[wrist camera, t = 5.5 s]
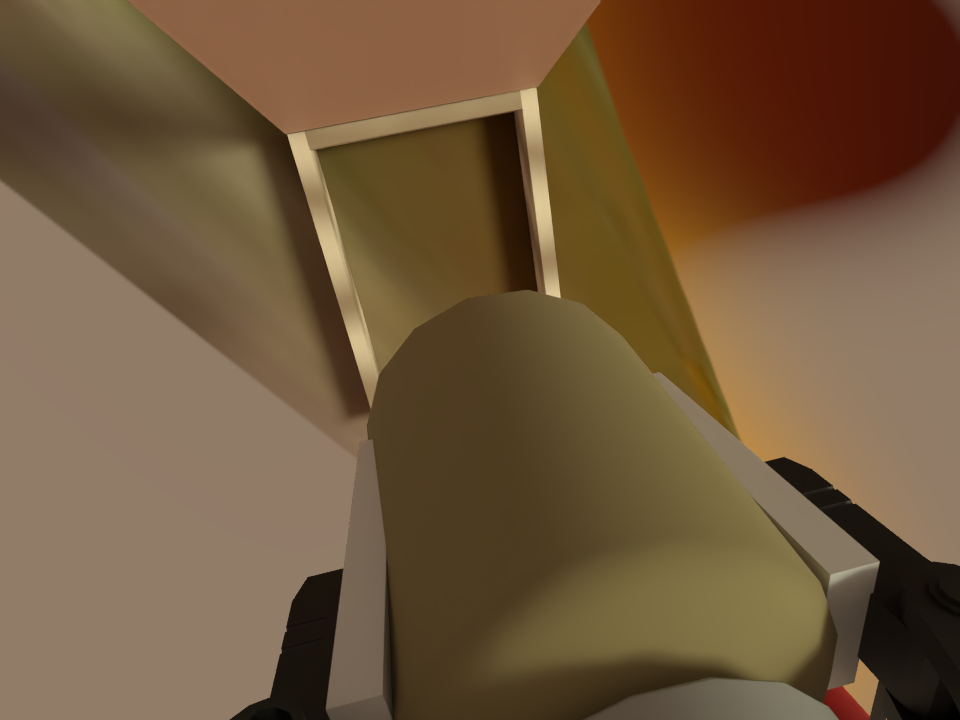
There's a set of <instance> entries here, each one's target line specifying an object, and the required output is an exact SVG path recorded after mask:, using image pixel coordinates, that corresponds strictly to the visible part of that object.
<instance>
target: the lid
mask: <svg viewBox="0 0 960 720" xmlns="http://www.w3.org/2000/svg"><path fill="white" fill-rule="evenodd" d="M127 1H128V2H130V3H131V4H132V5H133V6H134V7H135V8H137V9H138V10H139V11H140V12H141V13H143V14H144V15H145V16H146V17H147V18H149V19H150V20H151V21H152V22H153V23H154V24H156V25H157V26H158V27H159V28H160V29H162V30H163V31H164V32H165V33H166V34H167V35H169V36H170V37H171V38H172V39H173V40H175V41H176V42H177V43H178V44H179V45H180V46H182V47H183V48H184V49H185V50H186V51H188V52H189V53H190V54H191V55H192V56H193V57H195V58H196V59H197V60H198V61H199V62H201V63H202V64H203V65H204V66H205V67H207V68H208V69H209V70H210V71H211V72H212V73H214V74H215V75H216V76H217V77H218V78H220V79H221V80H222V81H223V82H224V83H225V84H227V85H228V86H229V87H230V88H231V89H233V90H234V91H235V92H236V93H237V94H238V95H240V96H241V97H242V98H243V99H244V100H246V101H247V102H248V103H249V104H250V105H251V106H253V107H254V108H255V109H256V110H257V111H259V112H260V113H261V114H262V115H263V116H265V117H266V118H267V119H268V120H269V121H270V122H272V123H273V124H274V125H275V126H276V127H278V128H279V129H280V130H281V131H282V132H283V133H285V134H289V133H294V132H299V131H305V130H310V129H315V128H321V127H326V126H331V125H336V124H342V123H347V122H352V121H358V120H363V119H368V118H374V117H379V116H384V115H389V114H395V113H400V112H405V111H411V110H416V109H421V108H427V107H432V106H437V105H443V104H448V103H453V102H458V101H464V100H469V99H474V98H480V97H485V96H490V95H496V94H501V93H506V92H512V91H517V90H522V89H527V88H533V87H538V86H539V85H540V83H541V82H542V81H543V79H544V78H545V77H546V75H547V74H548V73H549V71H550V70H551V68H552V67H553V66H554V64H555V63H556V62H557V60H558V59H559V57H560V56H561V55H562V53H563V52H564V51H565V49H566V48H567V47H568V45H569V44H570V42H571V41H572V40H573V38H574V37H575V36H576V34H577V33H578V32H579V30H580V29H581V27H582V26H583V25H584V23H585V22H586V21H587V19H588V18H589V16H590V15H591V14H592V12H593V11H594V9H595V8H596V7H597V6H598V4H599V3H600V1H601V0H127Z"/></svg>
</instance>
